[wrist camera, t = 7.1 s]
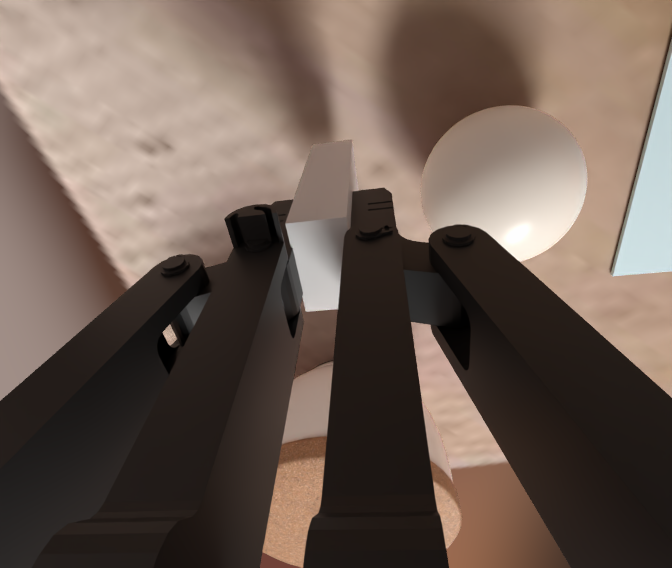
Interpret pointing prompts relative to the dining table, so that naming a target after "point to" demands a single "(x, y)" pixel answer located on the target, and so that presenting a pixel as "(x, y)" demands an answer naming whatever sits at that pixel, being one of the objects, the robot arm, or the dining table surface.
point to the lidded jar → (308, 469)
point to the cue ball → (507, 178)
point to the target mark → (651, 194)
